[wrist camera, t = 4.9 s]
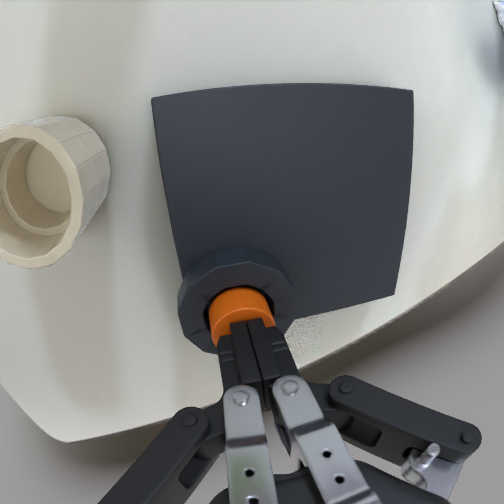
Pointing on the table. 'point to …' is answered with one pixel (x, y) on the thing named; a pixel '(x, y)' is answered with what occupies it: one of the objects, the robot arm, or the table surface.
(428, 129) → the table surface
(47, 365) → the table surface
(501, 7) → the hippopotamus toy
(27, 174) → the beige cup
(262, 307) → the button
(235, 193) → the scale
